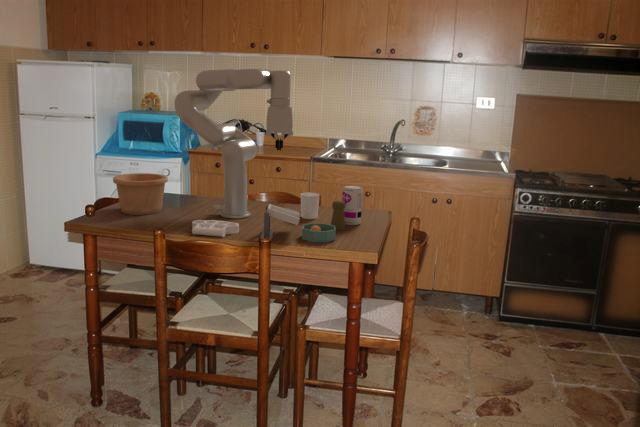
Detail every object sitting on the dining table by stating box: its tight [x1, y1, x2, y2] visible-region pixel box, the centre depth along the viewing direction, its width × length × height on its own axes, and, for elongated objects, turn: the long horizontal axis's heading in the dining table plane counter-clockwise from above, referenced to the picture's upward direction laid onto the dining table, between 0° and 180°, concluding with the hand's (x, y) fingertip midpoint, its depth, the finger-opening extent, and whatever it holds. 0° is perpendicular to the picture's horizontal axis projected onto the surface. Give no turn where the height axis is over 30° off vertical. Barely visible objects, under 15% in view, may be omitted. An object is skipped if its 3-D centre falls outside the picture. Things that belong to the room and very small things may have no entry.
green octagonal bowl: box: [301, 222, 337, 243], centre depth 216 cm, size 12×12×4 cm
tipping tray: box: [267, 203, 301, 226], centre depth 219 cm, size 12×18×2 cm, turn 2°
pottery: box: [112, 172, 169, 216], centre depth 247 cm, size 22×22×14 cm
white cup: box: [300, 192, 320, 220], centre depth 246 cm, size 8×8×10 cm
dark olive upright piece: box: [330, 200, 346, 231], centre depth 230 cm, size 6×6×11 cm
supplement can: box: [341, 185, 364, 226], centre depth 239 cm, size 8×8×15 cm
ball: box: [310, 225, 321, 231], centre depth 216 cm, size 4×4×4 cm
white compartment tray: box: [191, 219, 240, 238], centre depth 219 cm, size 3×18×15 cm
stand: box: [259, 206, 274, 242], centre depth 215 cm, size 4×14×10 cm, turn 2°
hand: (279, 150), depth 233 cm, fingers closed
